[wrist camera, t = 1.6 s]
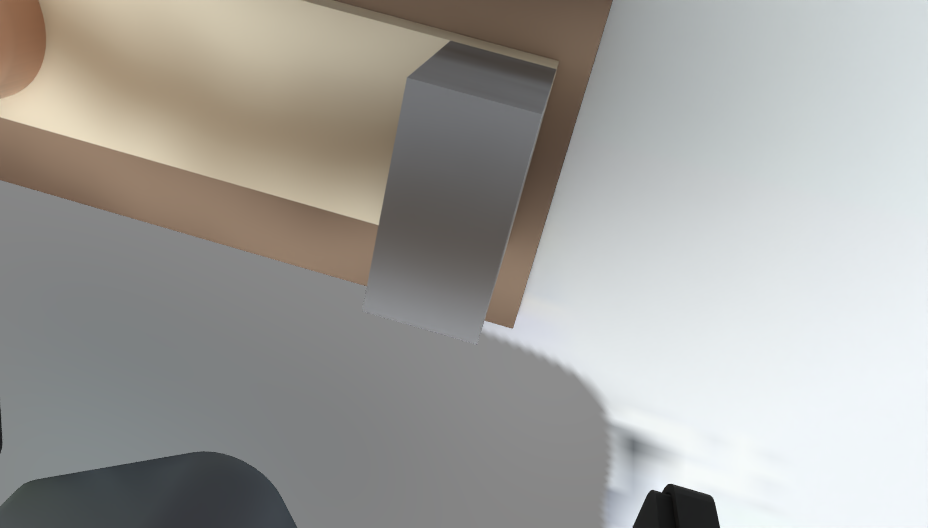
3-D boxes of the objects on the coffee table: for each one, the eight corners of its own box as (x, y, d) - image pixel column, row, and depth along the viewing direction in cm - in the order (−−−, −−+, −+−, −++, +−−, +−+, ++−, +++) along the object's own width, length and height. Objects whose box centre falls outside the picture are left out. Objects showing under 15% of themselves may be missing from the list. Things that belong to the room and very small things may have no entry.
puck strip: (-147, -129, 23) (-389, -141, 17) (559, 60, 22) (541, 114, 16) (-121, 66, 25) (-323, 111, 20) (507, 245, 24) (476, 344, 19)
